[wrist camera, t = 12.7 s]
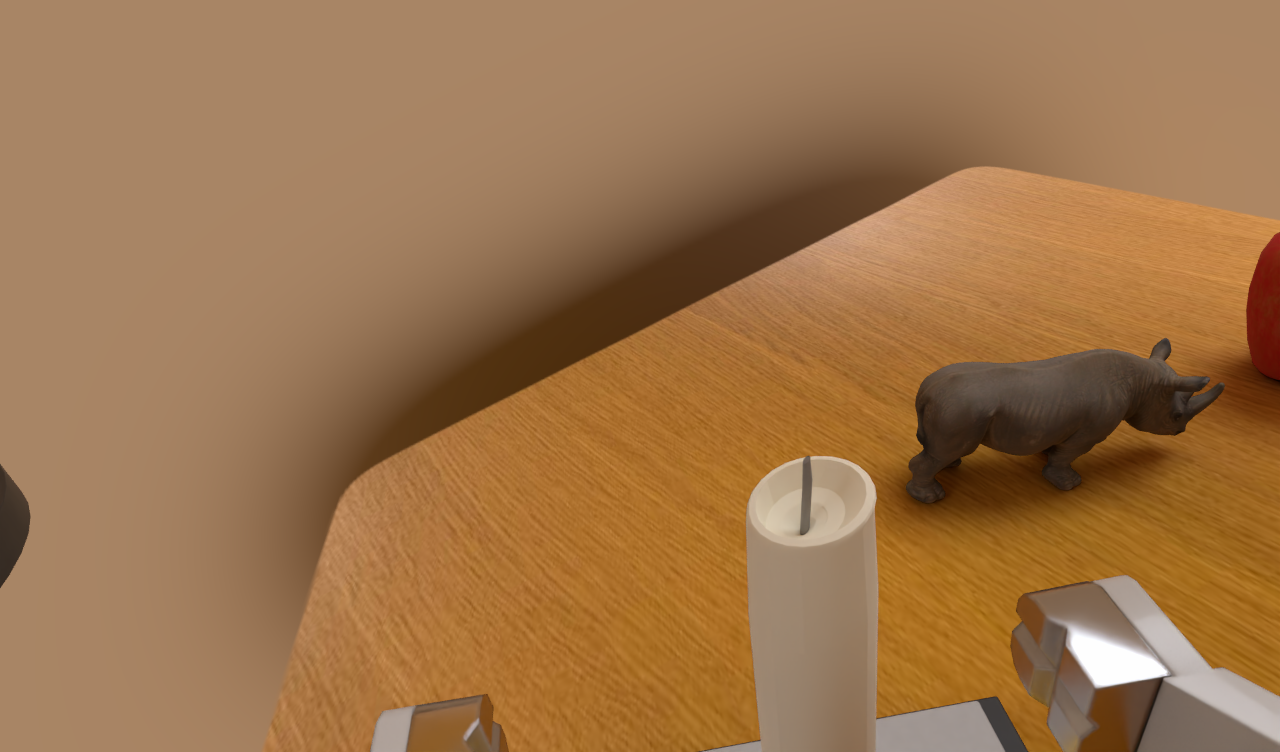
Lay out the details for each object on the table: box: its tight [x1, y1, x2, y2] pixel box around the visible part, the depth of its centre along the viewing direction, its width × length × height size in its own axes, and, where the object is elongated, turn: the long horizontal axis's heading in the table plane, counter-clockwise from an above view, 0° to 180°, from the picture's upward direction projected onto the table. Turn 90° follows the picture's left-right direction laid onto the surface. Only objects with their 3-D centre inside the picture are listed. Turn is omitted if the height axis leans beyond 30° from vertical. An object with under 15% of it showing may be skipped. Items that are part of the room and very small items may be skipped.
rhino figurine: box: [906, 338, 1225, 503], centre depth 33 cm, size 4×14×6 cm, turn 92°
